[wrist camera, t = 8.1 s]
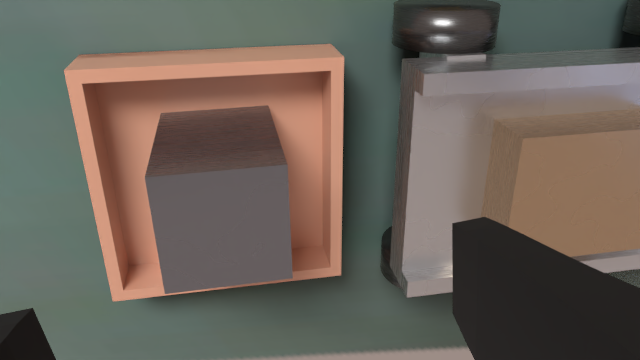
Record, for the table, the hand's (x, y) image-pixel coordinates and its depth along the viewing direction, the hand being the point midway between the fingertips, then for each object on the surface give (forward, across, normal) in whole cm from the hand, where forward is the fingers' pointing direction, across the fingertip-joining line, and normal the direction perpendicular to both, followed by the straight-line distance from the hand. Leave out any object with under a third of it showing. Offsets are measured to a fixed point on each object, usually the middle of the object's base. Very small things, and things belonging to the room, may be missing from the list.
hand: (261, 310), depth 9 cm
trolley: (+10, -11, +2) cm, 15 cm away
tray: (+10, +1, +2) cm, 11 cm away
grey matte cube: (+10, +1, +1) cm, 10 cm away
